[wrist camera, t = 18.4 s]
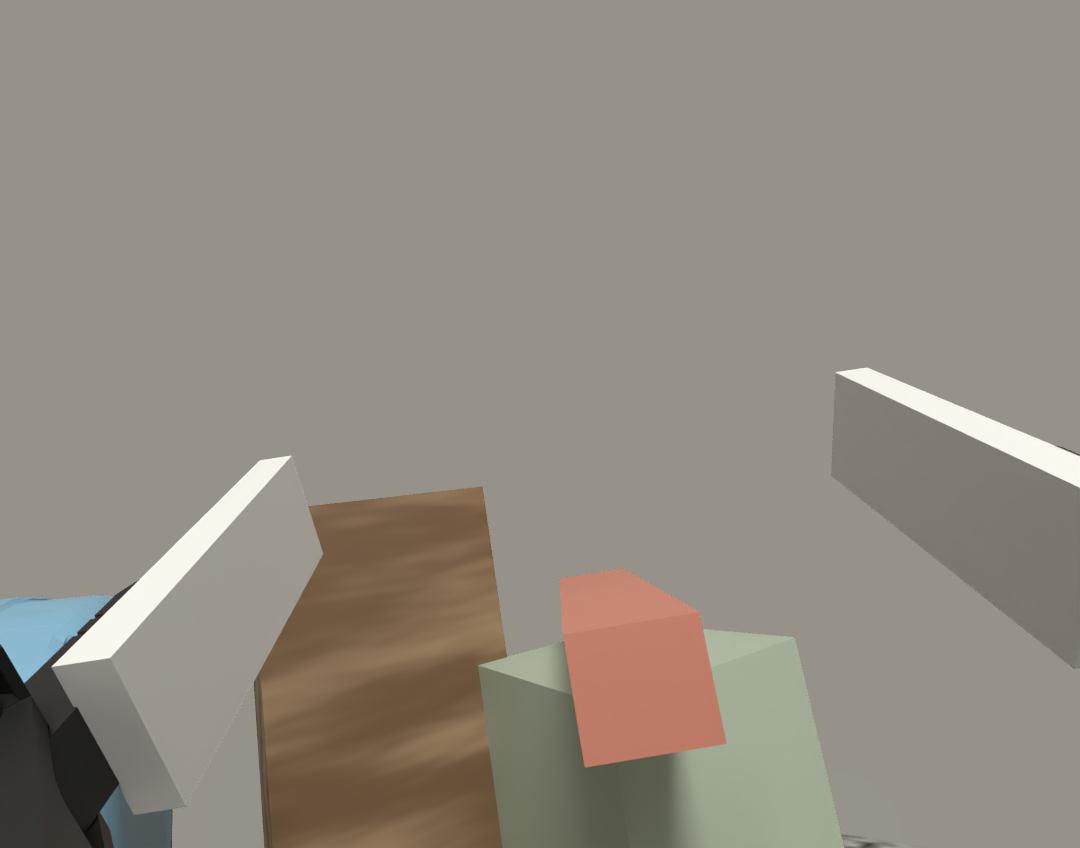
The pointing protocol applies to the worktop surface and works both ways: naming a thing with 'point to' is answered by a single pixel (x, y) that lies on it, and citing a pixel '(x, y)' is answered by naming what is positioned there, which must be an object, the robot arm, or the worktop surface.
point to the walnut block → (385, 682)
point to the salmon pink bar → (636, 669)
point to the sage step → (662, 761)
